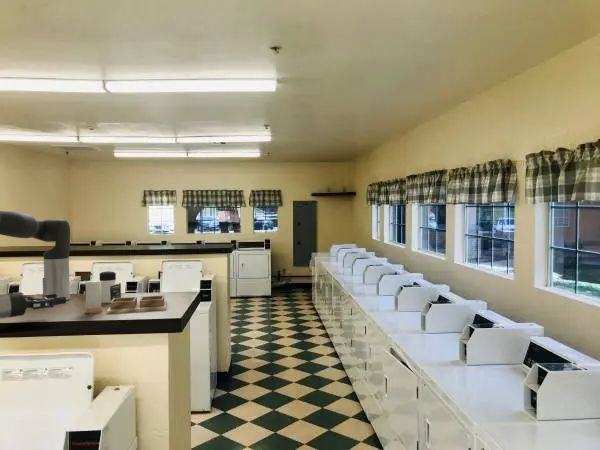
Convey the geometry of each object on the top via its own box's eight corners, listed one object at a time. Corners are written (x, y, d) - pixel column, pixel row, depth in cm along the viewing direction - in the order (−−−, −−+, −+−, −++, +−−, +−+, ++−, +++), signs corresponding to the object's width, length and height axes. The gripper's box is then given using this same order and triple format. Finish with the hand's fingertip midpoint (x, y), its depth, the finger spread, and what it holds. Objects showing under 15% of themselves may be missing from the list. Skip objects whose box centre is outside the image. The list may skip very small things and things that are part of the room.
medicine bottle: (110, 303, 181) (110, 273, 180) (94, 302, 182) (94, 272, 182) (121, 299, 188) (120, 270, 187) (105, 299, 189) (105, 270, 189)
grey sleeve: (84, 314, 162) (83, 283, 162) (87, 310, 167) (86, 280, 167) (100, 313, 163) (100, 282, 163) (103, 309, 168) (102, 280, 168)
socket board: (106, 313, 162) (106, 304, 161) (112, 306, 175) (112, 297, 175) (165, 310, 167) (165, 300, 167) (166, 302, 180) (166, 293, 180)
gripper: (12, 296, 140) (68, 289, 152) (-1, 291, 150) (53, 285, 162) (13, 321, 140) (69, 312, 152) (0, 314, 150) (53, 306, 162)
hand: (60, 298), depth 157 cm, fingers open, 8 cm apart
